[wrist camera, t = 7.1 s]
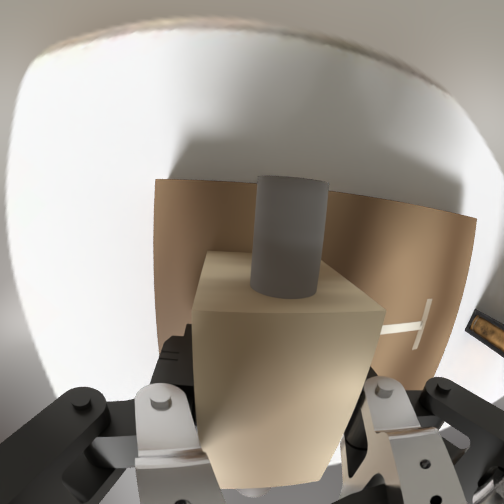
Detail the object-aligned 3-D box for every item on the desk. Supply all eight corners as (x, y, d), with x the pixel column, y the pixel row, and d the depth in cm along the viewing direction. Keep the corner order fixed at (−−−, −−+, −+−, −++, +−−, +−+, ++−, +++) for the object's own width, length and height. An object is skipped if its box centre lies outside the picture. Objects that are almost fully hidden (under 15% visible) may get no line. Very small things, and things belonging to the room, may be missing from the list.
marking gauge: (322, 189, 10) (405, 192, 5) (284, 429, 12) (304, 504, 7) (211, 179, 9) (195, 167, 4) (207, 430, 12) (207, 510, 7)
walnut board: (454, 214, 13) (476, 218, 11) (409, 382, 15) (423, 398, 13) (166, 181, 11) (155, 179, 9) (174, 400, 14) (169, 424, 12)
